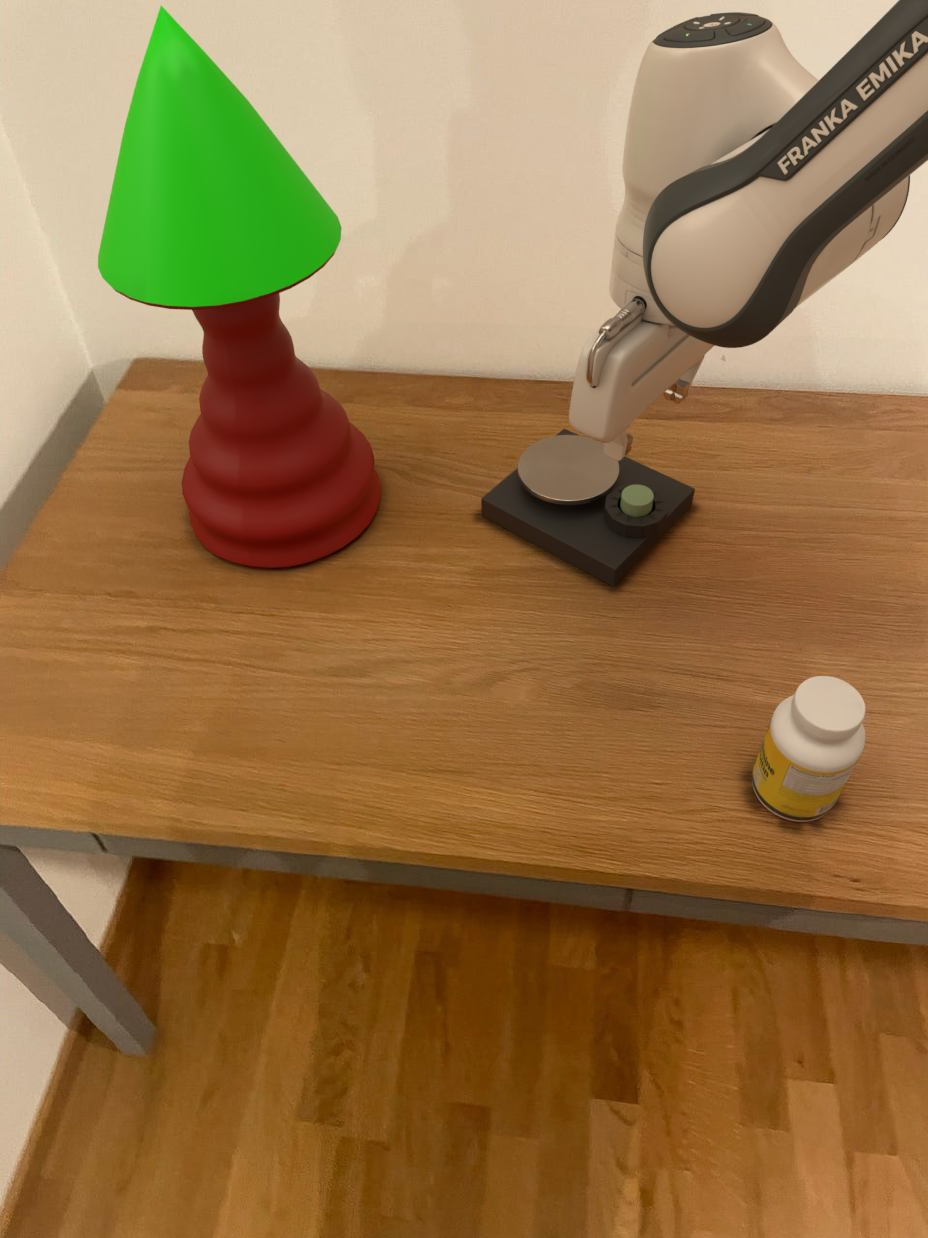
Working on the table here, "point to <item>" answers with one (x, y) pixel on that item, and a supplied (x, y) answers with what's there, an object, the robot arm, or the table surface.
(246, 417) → the table lamp
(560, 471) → the scale pan
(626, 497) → the button
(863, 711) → the pill bottle
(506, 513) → the scale
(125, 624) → the table surface
